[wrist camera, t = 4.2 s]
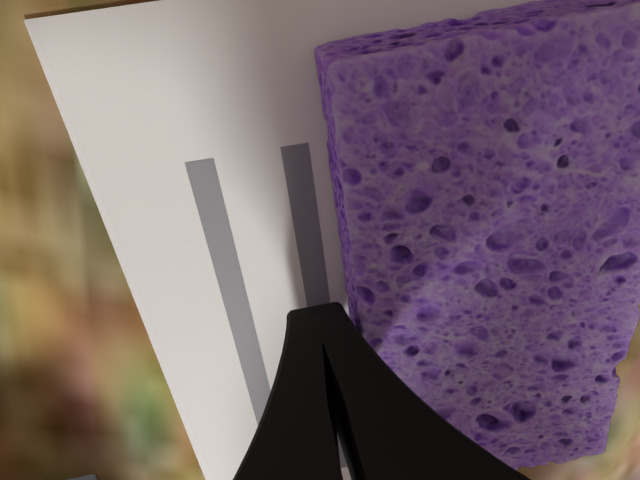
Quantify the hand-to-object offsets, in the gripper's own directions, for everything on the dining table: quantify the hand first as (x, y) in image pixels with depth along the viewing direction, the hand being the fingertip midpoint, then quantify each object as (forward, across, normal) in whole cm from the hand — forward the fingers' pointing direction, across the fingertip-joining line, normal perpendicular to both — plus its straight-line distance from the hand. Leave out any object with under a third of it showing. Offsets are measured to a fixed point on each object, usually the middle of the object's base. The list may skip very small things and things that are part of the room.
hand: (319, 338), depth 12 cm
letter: (+1, -1, 0) cm, 2 cm away
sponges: (+1, -4, 0) cm, 4 cm away
